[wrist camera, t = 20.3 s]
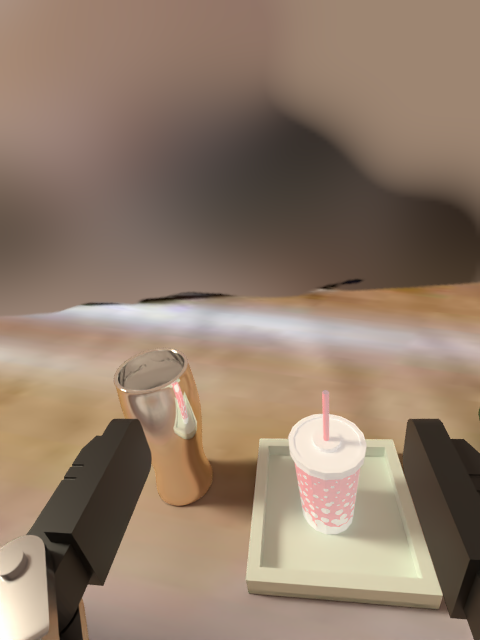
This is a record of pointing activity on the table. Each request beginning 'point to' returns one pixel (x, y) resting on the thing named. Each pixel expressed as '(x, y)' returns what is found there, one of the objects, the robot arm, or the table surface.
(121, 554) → the table surface
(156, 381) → the metal tumbler
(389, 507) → the tray
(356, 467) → the beverage cup
